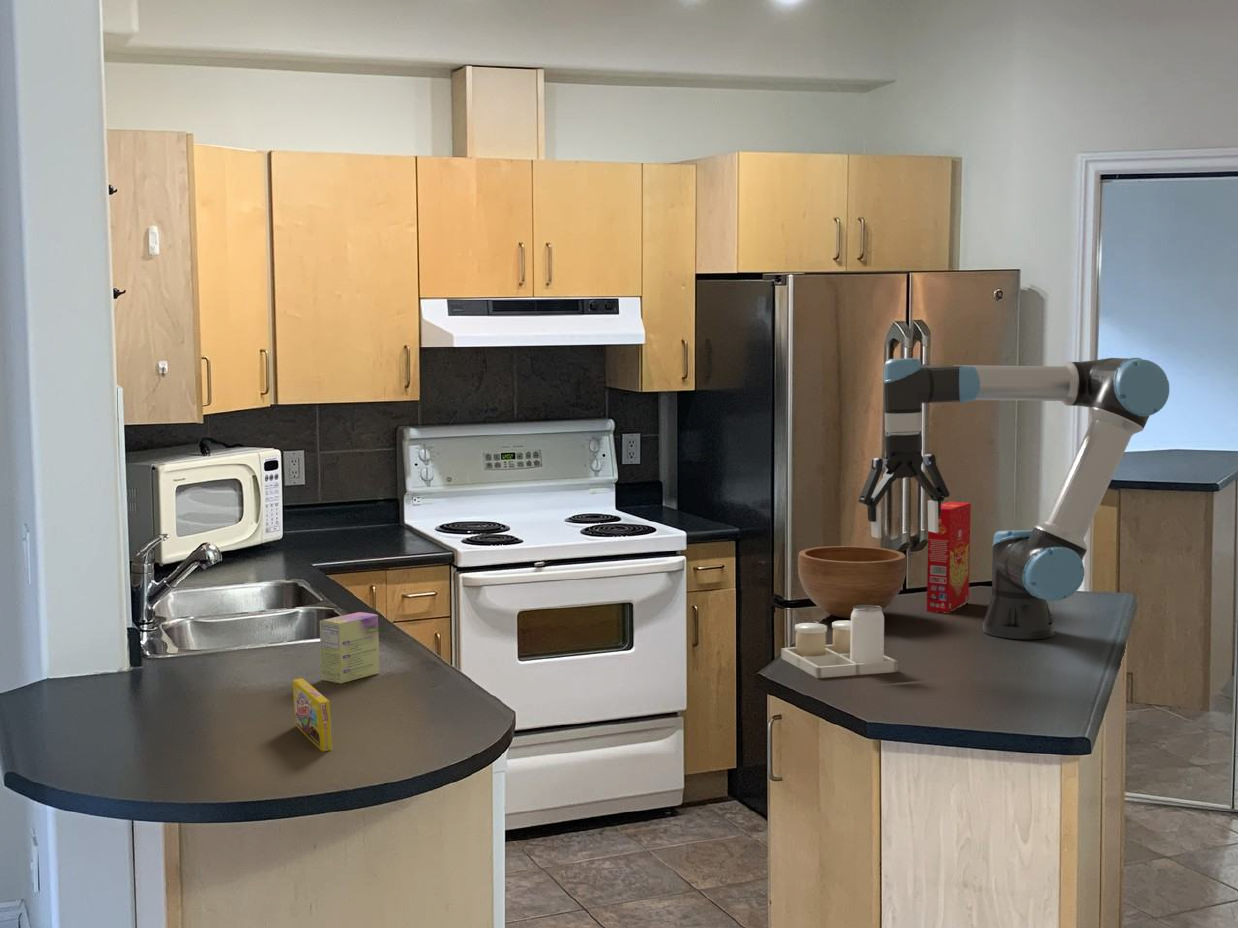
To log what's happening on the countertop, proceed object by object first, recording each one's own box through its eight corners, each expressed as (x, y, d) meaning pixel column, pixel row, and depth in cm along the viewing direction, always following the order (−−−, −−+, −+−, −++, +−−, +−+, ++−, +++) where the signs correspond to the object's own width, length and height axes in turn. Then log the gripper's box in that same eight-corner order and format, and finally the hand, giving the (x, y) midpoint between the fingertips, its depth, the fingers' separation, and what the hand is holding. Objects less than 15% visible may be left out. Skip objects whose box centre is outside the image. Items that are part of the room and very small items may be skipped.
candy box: (293, 726, 230) (292, 679, 229) (305, 725, 231) (304, 677, 230) (319, 752, 216) (318, 701, 215) (333, 750, 217) (331, 699, 216)
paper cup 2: (854, 653, 280) (855, 619, 279) (868, 660, 274) (869, 625, 273) (826, 656, 278) (826, 621, 277) (840, 663, 272) (840, 627, 271)
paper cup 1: (818, 656, 277) (818, 621, 277) (831, 663, 271) (832, 628, 271) (789, 658, 276) (789, 623, 275) (802, 666, 270) (802, 630, 269)
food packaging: (947, 613, 322) (950, 509, 320) (926, 611, 325) (928, 507, 323) (968, 603, 335) (970, 503, 332) (947, 601, 338) (949, 501, 335)
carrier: (857, 653, 281) (857, 642, 281) (897, 673, 265) (897, 661, 265) (780, 659, 277) (781, 648, 276) (817, 679, 260) (817, 667, 260)
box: (359, 669, 269) (358, 610, 268) (380, 673, 266) (379, 614, 265) (319, 680, 261) (318, 619, 260) (340, 684, 257) (339, 623, 256)
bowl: (915, 628, 306) (916, 562, 304) (804, 628, 306) (804, 562, 305) (894, 607, 330) (895, 545, 329) (791, 606, 331) (792, 545, 329)
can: (849, 670, 266) (850, 610, 265) (850, 663, 272) (851, 604, 271) (883, 672, 264) (884, 611, 263) (883, 664, 271) (884, 605, 270)
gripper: (945, 428, 288) (946, 527, 291) (840, 435, 280) (843, 537, 282) (965, 430, 281) (966, 531, 283) (859, 437, 273) (861, 541, 275)
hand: (904, 534), depth 283 cm, fingers open, 13 cm apart
